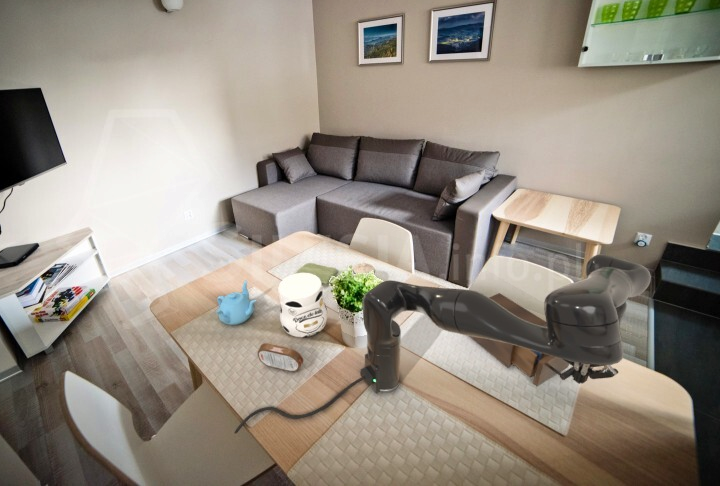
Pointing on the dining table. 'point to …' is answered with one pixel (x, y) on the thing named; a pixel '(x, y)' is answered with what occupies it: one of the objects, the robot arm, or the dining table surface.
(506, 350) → the wooden storage box
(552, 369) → the drawer
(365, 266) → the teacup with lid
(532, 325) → the robot arm
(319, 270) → the washcloth
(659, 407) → the dining table surface
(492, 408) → the dining table surface
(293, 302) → the milk container
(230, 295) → the teapot
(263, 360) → the tin
